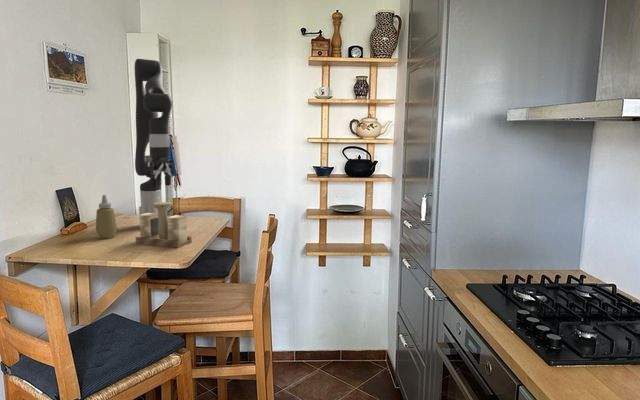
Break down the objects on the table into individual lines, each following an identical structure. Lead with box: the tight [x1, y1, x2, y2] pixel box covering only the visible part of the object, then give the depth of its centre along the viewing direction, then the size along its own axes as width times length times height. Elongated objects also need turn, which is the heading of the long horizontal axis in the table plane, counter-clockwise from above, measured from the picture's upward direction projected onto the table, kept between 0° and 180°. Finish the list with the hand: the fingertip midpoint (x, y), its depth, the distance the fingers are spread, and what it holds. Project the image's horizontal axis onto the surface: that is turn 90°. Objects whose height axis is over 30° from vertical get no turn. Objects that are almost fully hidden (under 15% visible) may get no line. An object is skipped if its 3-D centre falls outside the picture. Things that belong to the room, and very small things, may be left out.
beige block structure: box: [134, 213, 192, 249], centre depth 177 cm, size 20×9×11 cm, turn 73°
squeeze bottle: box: [95, 194, 118, 239], centre depth 183 cm, size 8×8×18 cm
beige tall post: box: [153, 201, 172, 240], centre depth 176 cm, size 5×6×15 cm
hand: (161, 186), depth 174 cm, fingers open, 8 cm apart
